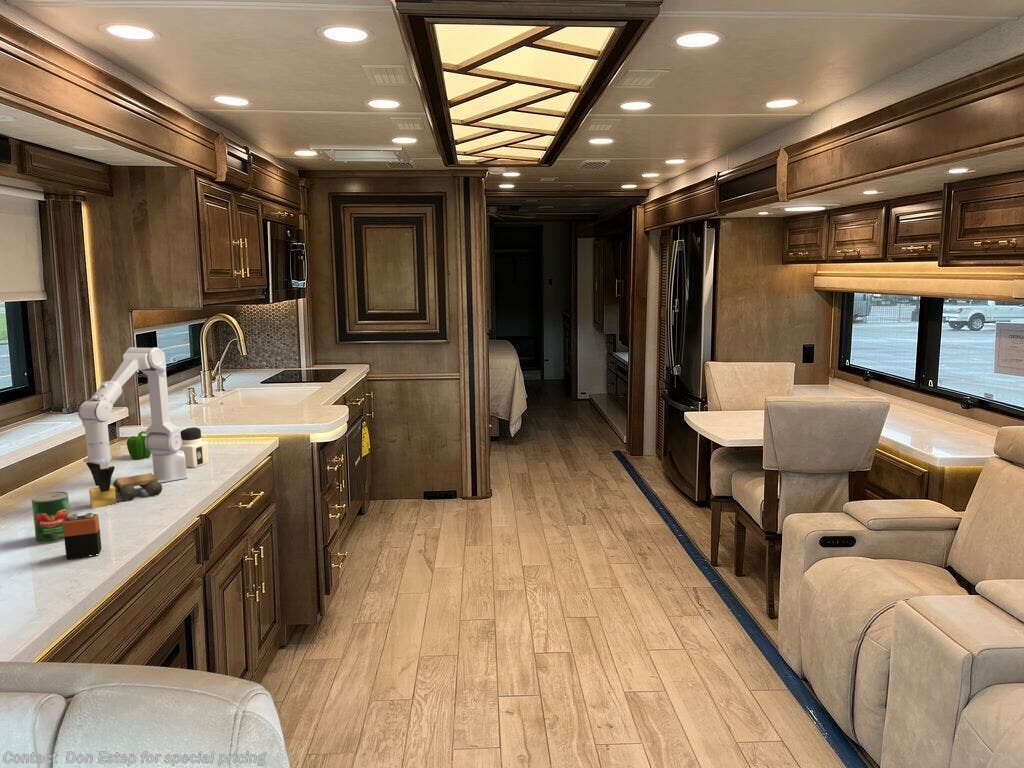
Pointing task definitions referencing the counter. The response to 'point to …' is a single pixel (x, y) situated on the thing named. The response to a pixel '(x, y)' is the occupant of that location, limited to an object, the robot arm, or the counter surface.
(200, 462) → the container
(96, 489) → the block
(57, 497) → the canned tomato
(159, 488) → the trolley
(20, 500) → the counter surface
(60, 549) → the counter surface
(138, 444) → the bell pepper
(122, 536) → the counter surface
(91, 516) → the battery
